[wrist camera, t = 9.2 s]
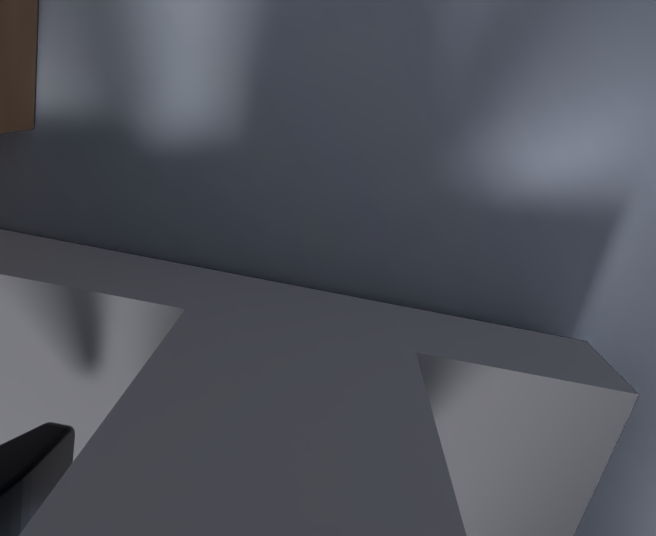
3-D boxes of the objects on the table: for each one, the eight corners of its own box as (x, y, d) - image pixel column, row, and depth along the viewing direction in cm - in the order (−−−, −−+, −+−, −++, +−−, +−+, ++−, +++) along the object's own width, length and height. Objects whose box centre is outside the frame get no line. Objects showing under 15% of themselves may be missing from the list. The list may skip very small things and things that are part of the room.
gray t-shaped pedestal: (586, 341, 11) (976, 739, 4) (513, 521, 12) (710, 1015, 6) (-179, 194, 10) (-1147, 382, 4) (-150, 402, 12) (-780, 798, 5)
